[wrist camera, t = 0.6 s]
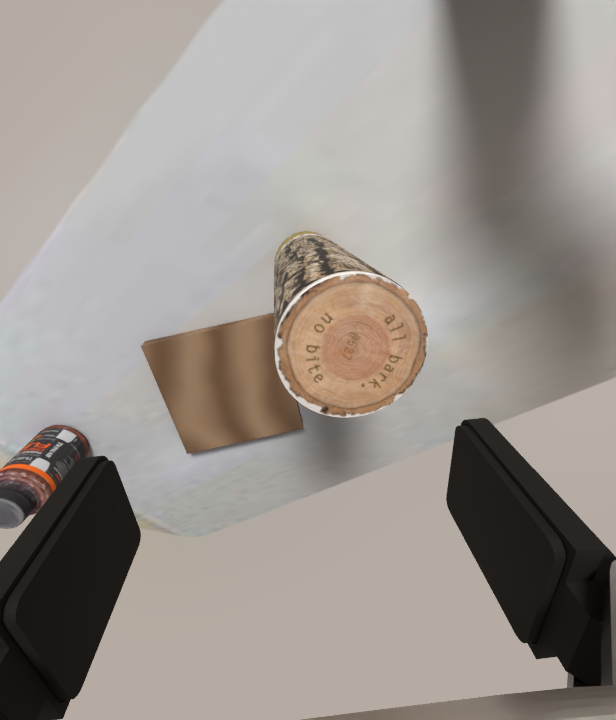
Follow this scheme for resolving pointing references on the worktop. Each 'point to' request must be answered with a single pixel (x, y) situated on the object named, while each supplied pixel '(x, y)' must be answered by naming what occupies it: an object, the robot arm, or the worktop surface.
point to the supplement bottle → (38, 472)
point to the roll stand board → (223, 384)
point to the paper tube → (342, 329)
